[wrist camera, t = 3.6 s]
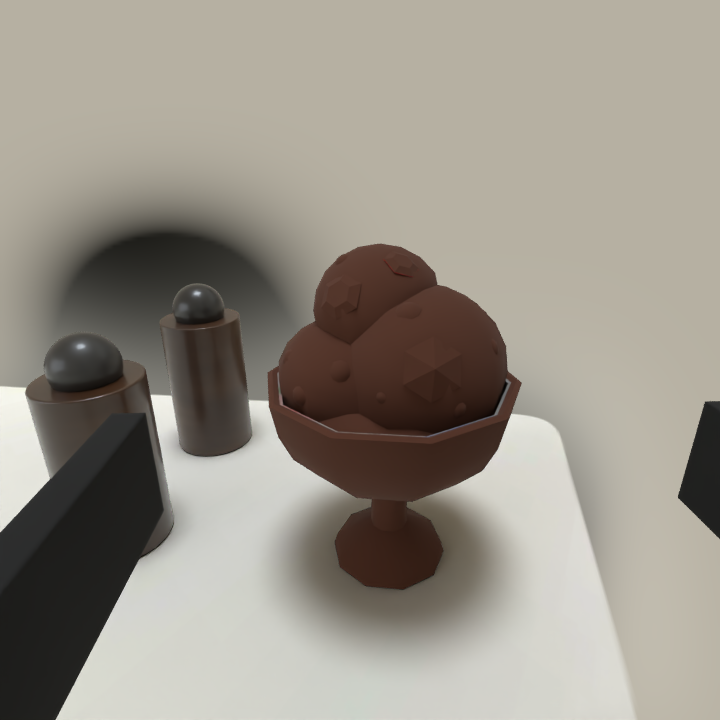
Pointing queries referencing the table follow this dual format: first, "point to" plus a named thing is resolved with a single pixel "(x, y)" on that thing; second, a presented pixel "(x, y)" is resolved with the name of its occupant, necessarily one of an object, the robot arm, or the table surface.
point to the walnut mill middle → (91, 405)
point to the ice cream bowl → (391, 403)
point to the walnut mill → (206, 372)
